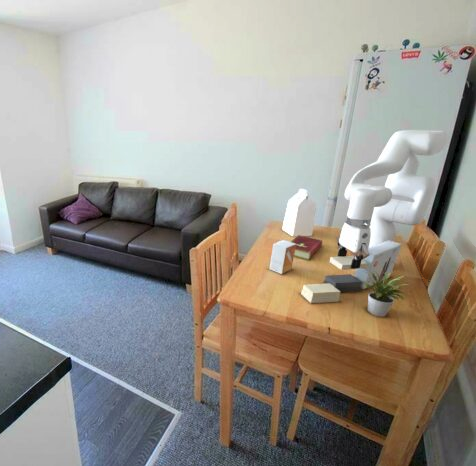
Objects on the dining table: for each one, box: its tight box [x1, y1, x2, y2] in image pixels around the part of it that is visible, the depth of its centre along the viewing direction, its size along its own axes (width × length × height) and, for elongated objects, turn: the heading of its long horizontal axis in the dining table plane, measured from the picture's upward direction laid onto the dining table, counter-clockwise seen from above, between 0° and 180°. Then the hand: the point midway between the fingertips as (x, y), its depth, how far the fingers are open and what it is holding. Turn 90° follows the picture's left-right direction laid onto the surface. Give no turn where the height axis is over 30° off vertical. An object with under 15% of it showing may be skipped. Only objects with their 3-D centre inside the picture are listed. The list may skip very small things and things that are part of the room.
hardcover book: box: [290, 235, 323, 261], centre depth 161 cm, size 12×21×4 cm, turn 135°
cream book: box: [329, 255, 368, 271], centre depth 123 cm, size 10×7×2 cm
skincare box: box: [353, 240, 403, 290], centre depth 128 cm, size 21×6×16 cm, turn 118°
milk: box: [281, 188, 317, 237], centre depth 180 cm, size 12×12×26 cm
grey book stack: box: [322, 273, 362, 293], centre depth 126 cm, size 11×6×4 cm, turn 93°
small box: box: [269, 239, 296, 275], centre depth 141 cm, size 8×6×13 cm
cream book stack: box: [300, 283, 341, 304], centre depth 120 cm, size 11×6×4 cm, turn 93°
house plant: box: [359, 270, 410, 317], centre depth 108 cm, size 14×14×16 cm
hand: (347, 263), depth 123 cm, fingers closed on cream book, 7 cm apart
